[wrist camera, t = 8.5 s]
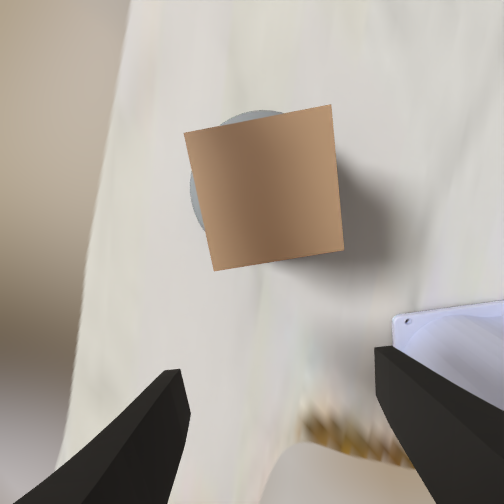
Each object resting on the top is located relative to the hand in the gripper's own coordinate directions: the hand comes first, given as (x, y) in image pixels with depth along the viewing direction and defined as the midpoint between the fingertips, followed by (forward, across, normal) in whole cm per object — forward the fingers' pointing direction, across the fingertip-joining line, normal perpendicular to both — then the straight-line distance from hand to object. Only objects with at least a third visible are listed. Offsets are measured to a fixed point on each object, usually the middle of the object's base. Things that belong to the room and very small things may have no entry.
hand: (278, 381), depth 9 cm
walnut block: (+6, 0, -7) cm, 9 cm away
